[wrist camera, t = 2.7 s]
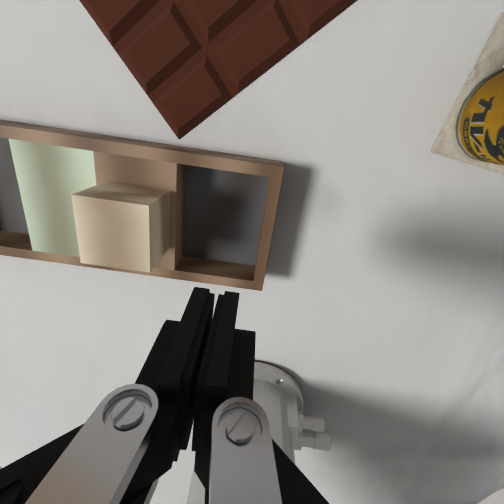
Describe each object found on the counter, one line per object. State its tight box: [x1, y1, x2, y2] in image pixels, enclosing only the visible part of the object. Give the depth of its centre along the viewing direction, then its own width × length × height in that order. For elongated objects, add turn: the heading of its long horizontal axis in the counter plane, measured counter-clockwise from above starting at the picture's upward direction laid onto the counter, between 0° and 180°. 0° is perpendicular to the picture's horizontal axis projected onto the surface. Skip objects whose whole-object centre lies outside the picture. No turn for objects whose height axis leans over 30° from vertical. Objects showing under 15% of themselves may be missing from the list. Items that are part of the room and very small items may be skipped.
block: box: [71, 182, 170, 273], centre depth 19 cm, size 4×4×4 cm
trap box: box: [0, 120, 284, 291], centre depth 22 cm, size 26×10×3 cm, turn 82°
